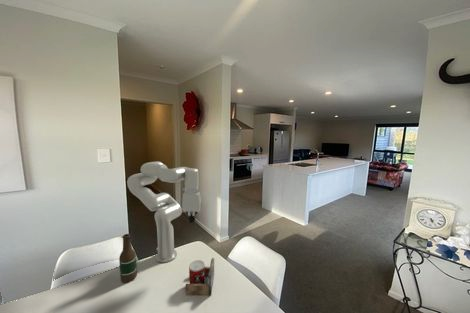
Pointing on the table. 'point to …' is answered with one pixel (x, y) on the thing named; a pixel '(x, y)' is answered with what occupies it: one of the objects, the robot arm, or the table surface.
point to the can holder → (202, 288)
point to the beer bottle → (127, 261)
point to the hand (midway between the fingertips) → (192, 221)
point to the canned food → (197, 272)
